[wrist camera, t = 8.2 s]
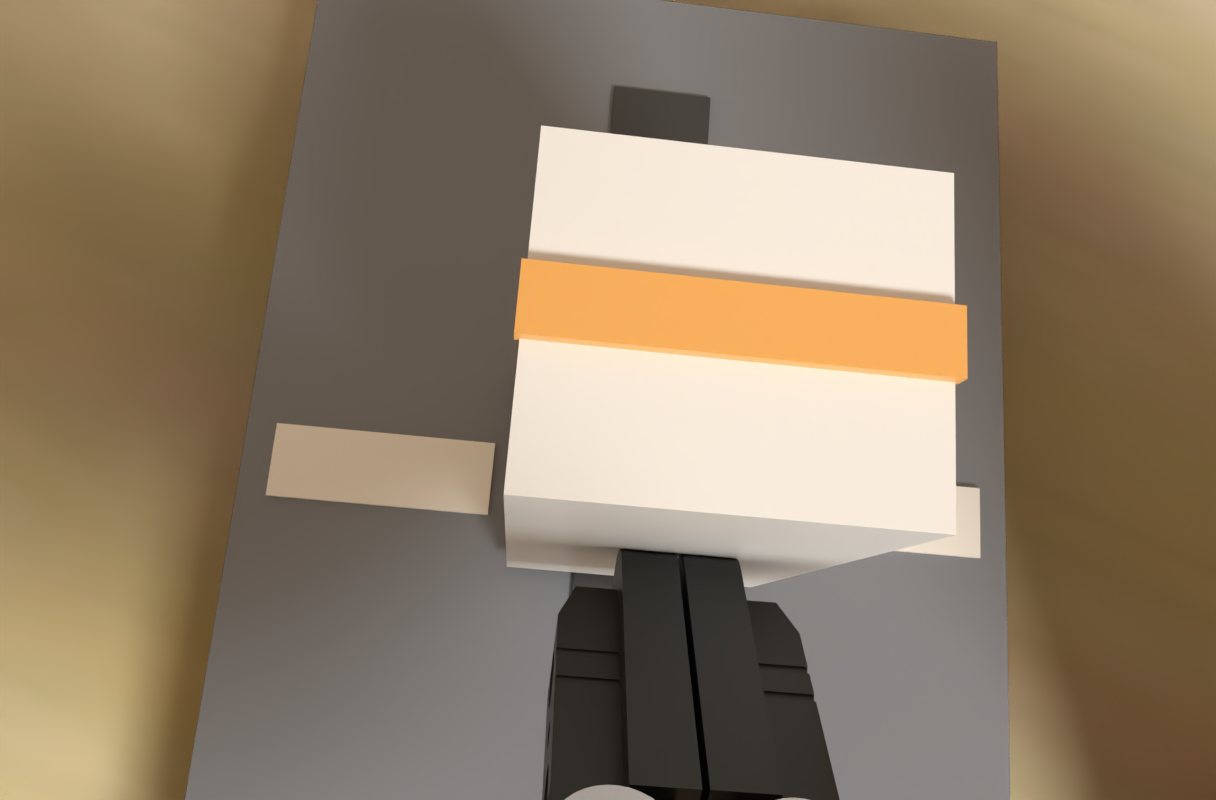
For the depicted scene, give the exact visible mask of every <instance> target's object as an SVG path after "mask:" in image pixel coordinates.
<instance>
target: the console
mask: <svg viewBox="0 0 1216 800" xmlns="http://www.w3.org/2000/svg"><path fill="white" fill-rule="evenodd" d="M541 125H542V126H550V127H559V128H568V129H576V130H585V131H593V132H602V133H611V134H619V135H628V136H637V137H645V138H654V139H663V140H671V141H680V142H689V143H697V144H706V145H715V146H723V147H732V148H741V149H749V150H758V151H767V152H775V153H784V154H793V155H801V156H810V157H819V158H827V159H836V160H845V161H853V162H862V163H871V164H879V165H888V166H897V167H905V168H914V169H923V170H931V171H940V172H949V173H954V255H955V304H958V305H967V366H968V379H966V380H965V381H963V382H961V383H960V384H955V419H956V535H954V536H950V537H946V538H942V539H938V540H934V541H930V542H927V543H923V544H919V545H915V546H911V547H907V548H903V549H899V550H895V551H891V552H887V553H883V554H879V555H876V556H872V557H868V558H864V559H860V560H856V561H852V562H848V563H844V564H840V565H836V566H832V567H828V568H825V569H821V570H817V571H813V572H809V573H805V574H801V575H797V576H793V577H789V578H785V579H781V580H777V581H774V582H770V583H766V584H762V585H758V586H754V587H744V588H745V594H746V599H747V600H750V601H762V602H774V603H777V604H778V606H779V607H780V608H781V609H782V611H783V612H784V613H785V615H786V616H787V617H788V619H789V620H790V621H791V623H792V624H793V625H794V627H795V628H796V629H797V631H798V632H799V633H800V637H801V641H802V645H803V649H804V654H805V658H806V662H807V666H808V668H807V673H808V674H810V678H811V683H812V687H813V691H814V701H815V702H816V703H817V708H818V712H819V716H820V720H821V724H822V728H823V732H824V737H825V741H826V745H827V749H828V753H829V757H830V762H831V766H832V770H833V774H834V778H835V782H836V786H837V791H838V795H839V799H840V800H1010V755H1009V699H1008V643H1007V586H1006V530H1005V474H1004V418H1003V361H1002V305H1001V249H1000V193H999V137H998V80H997V42H991V41H983V40H975V39H967V38H959V37H951V36H943V35H935V34H927V33H919V32H911V31H903V30H895V29H887V28H879V27H871V26H863V25H855V24H847V23H839V22H831V21H823V20H816V19H808V18H800V17H792V16H784V15H776V14H768V13H760V12H752V11H744V10H736V9H728V8H720V7H712V6H704V5H696V4H688V3H680V2H672V1H664V0H317V6H316V13H315V19H314V25H313V31H312V37H311V43H310V49H309V55H308V61H307V67H306V73H305V79H304V85H303V91H302V97H301V103H300V109H299V115H298V121H297V127H296V133H295V139H294V145H293V151H292V157H291V163H290V169H289V175H288V181H287V187H286V193H285V199H284V205H283V211H282V217H281V223H280V229H279V235H278V241H277V247H276V253H275V260H274V266H273V272H272V278H271V284H270V290H269V296H268V302H267V308H266V314H265V320H264V326H263V332H262V338H261V344H260V350H259V356H258V362H257V368H256V374H255V380H254V386H253V392H252V398H251V404H250V410H249V416H248V422H247V428H246V434H245V440H244V446H243V452H242V458H241V464H240V470H239V476H238V482H237V488H236V494H235V501H234V507H233V513H232V519H231V525H230V531H229V537H228V543H227V549H226V555H225V561H224V567H223V573H222V579H221V585H220V591H219V597H218V603H217V609H216V615H215V621H214V627H213V633H212V639H211V645H210V651H209V657H208V663H207V669H206V675H205V681H204V687H203V693H202V699H201V705H200V711H199V717H198V723H197V729H196V735H195V741H194V748H193V754H192V760H191V766H190V772H189V778H188V784H187V790H186V796H185V800H542V790H543V771H544V752H545V737H546V734H545V733H546V714H547V697H548V690H549V682H550V674H551V666H552V658H553V650H554V642H555V634H556V626H557V618H558V613H559V612H560V610H561V609H562V607H563V605H564V604H565V602H566V601H567V599H568V598H569V596H570V595H571V593H572V592H573V590H574V589H575V587H576V586H580V587H592V588H604V589H612V584H613V578H614V576H611V575H599V574H587V573H575V572H563V571H551V570H540V569H528V568H516V567H507V560H506V538H505V515H504V485H505V476H506V466H507V456H508V446H509V436H510V427H511V417H512V407H513V397H514V387H515V378H516V368H517V358H518V348H519V340H514V327H515V318H516V308H517V298H518V289H519V279H520V269H521V260H522V258H524V259H528V250H529V240H530V230H531V221H532V211H533V201H534V191H535V181H536V172H537V162H538V152H539V142H540V132H541Z"/></svg>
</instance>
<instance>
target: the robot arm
mask: <svg viewBox="0 0 1216 800" xmlns="http://www.w3.org/2000/svg"><path fill="white" fill-rule="evenodd" d="M807 668H808V666H807V662H806V658H805V654H804V649H803V645H802V641H801V637H800V633H799V632H798V631H797V629H796V628H795V627H794V625H793V624H792V623H791V621H790V620H789V619H788V617H787V616H786V615H785V613H784V612H783V611H782V609H781V608H780V607H779V606H778V604H777V603H774V602H762V601H750V600H747V599H746V594H745V588H744V583H743V577H742V572H741V567H740V563H739V561H738V559H732V558H721V557H709V556H698V555H686V554H681V555H679V557H678V558H677V555H676V554H673V553H661V552H650V551H638V550H627V549H619V551H618V554H617V559H616V565H615V571H614V578H613V584H612V589H604V588H592V587H580V586H576V587H575V589H574V590H573V592H572V593H571V595H570V596H569V598H568V599H567V601H566V602H565V604H564V605H563V607H562V609H561V610H560V612H559V613H558V618H557V626H556V634H555V642H554V650H553V658H552V666H551V674H550V682H549V690H548V697H547V714H546V733H545V734H546V737H545V752H544V771H543V790H542V800H840V799H839V795H838V791H837V786H836V782H835V778H834V774H833V770H832V766H831V762H830V757H829V753H828V749H827V745H826V741H825V737H824V732H823V728H822V724H821V720H820V716H819V712H818V708H817V703H816V702H815V701H814V691H813V687H812V683H811V678H810V674H808V673H807Z"/></svg>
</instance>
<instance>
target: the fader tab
mask: <svg viewBox="0 0 1216 800" xmlns="http://www.w3.org/2000/svg"><path fill="white" fill-rule="evenodd" d="M514 340H519V348H518V358H517V368H516V378H515V387H514V397H513V407H512V417H511V427H510V436H509V446H508V456H507V466H506V476H505V485H504V515H505V538H506V560H507V567H516V568H528V569H540V570H551V571H563V572H575V573H587V574H599V575H611V576H614V571H615V565H616V559H617V554H618V551H619V549H627V550H638V551H650V552H661V553H673V554H676V555H677V558H678V557H679V555H681V554H686V555H698V556H709V557H721V558H732V559H738V561H739V563H740V567H741V572H742V577H743V583H744V587H754V586H758V585H762V584H766V583H770V582H774V581H777V580H781V579H785V578H789V577H793V576H797V575H801V574H805V573H809V572H813V571H817V570H821V569H825V568H828V567H832V566H836V565H840V564H844V563H848V562H852V561H856V560H860V559H864V558H868V557H872V556H876V555H879V554H883V553H887V552H891V551H895V550H899V549H903V548H907V547H911V546H915V545H919V544H923V543H927V542H930V541H934V540H938V539H942V538H946V537H950V536H954V535H956V419H955V384H960V383H961V382H963V381H965V380H966V379H968V366H967V305H958V304H955V255H954V173H949V172H940V171H931V170H923V169H914V168H905V167H897V166H888V165H879V164H871V163H862V162H853V161H845V160H836V159H827V158H819V157H810V156H801V155H793V154H784V153H775V152H767V151H758V150H749V149H741V148H732V147H723V146H715V145H706V144H697V143H689V142H680V141H671V140H663V139H654V138H645V137H637V136H628V135H619V134H611V133H602V132H593V131H585V130H576V129H568V128H559V127H550V126H542V125H541V132H540V142H539V152H538V162H537V172H536V181H535V191H534V201H533V211H532V221H531V230H530V240H529V250H528V259H524V258H522V260H521V269H520V279H519V289H518V298H517V308H516V318H515V327H514Z"/></svg>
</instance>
